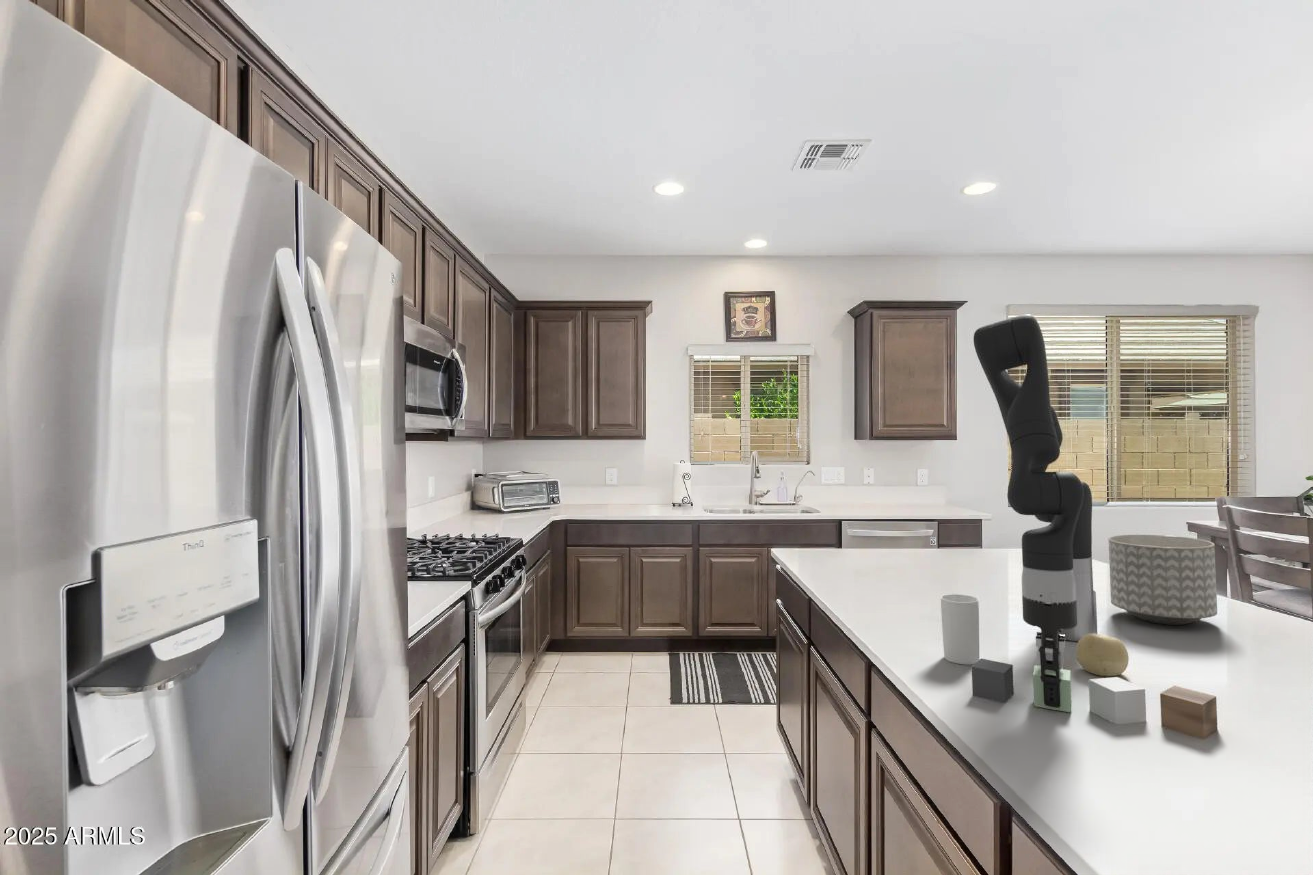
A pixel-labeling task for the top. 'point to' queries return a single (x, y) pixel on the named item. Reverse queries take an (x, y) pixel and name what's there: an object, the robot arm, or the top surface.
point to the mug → (960, 628)
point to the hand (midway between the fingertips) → (1052, 699)
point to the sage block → (1064, 689)
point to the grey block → (1117, 700)
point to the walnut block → (1188, 712)
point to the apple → (1102, 655)
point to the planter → (1163, 577)
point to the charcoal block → (992, 680)
